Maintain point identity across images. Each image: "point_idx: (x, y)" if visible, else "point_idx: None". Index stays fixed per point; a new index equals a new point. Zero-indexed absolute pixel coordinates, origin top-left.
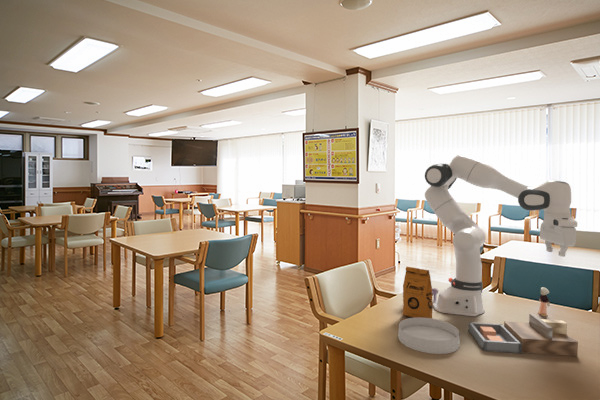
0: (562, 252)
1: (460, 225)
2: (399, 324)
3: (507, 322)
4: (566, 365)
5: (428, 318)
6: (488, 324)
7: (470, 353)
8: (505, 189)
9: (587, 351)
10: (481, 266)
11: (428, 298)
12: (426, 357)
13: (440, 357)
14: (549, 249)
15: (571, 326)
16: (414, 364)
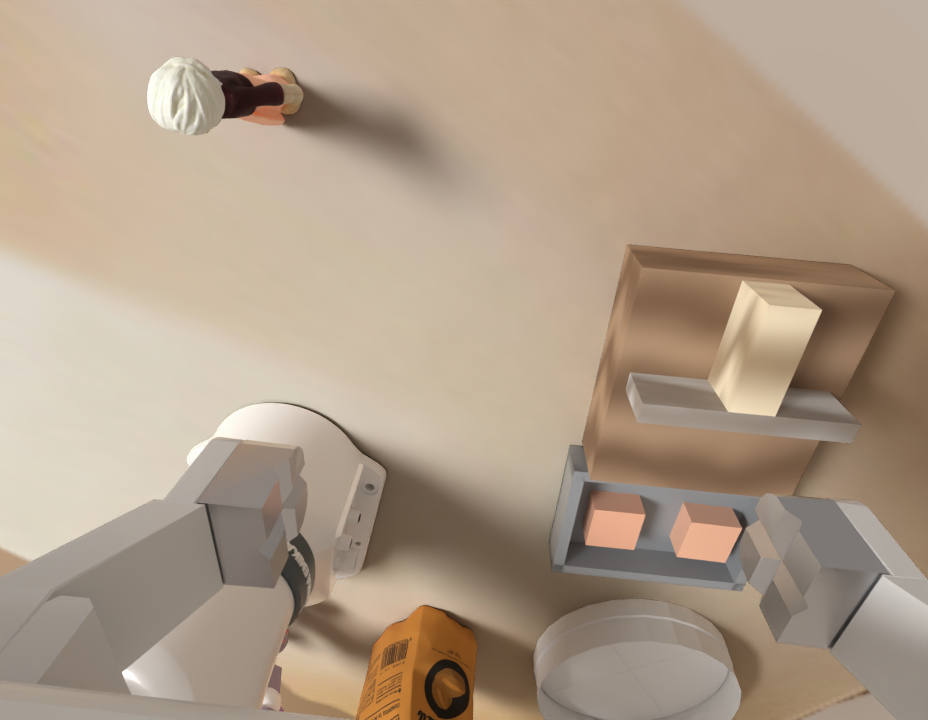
0: (882, 614)
1: None
2: None
3: (603, 472)
4: (909, 363)
5: (543, 679)
6: (574, 516)
7: (739, 597)
8: None
9: (818, 175)
10: (198, 654)
11: (434, 704)
12: (742, 688)
13: (749, 664)
14: (284, 530)
15: (466, 13)
16: (775, 716)
